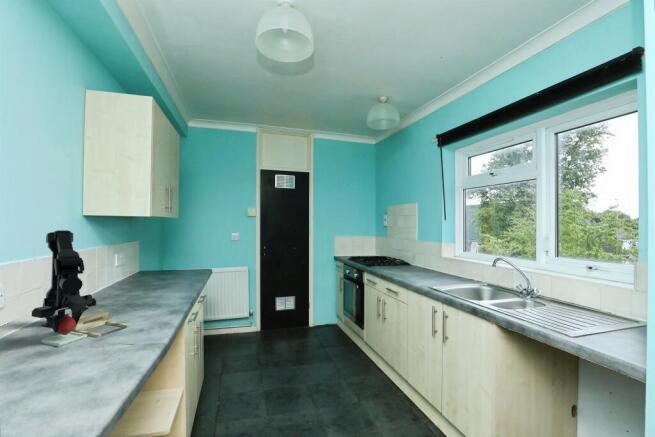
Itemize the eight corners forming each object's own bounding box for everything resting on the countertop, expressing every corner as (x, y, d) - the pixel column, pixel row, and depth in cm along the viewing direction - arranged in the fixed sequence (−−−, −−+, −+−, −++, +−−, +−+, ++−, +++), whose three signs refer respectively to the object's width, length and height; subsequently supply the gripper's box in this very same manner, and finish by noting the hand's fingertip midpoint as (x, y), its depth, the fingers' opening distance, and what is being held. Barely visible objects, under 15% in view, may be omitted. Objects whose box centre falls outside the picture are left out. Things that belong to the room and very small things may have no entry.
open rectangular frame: (70, 332, 124) (71, 319, 124) (103, 322, 136) (103, 311, 136) (97, 337, 119) (98, 324, 119) (129, 326, 132) (129, 315, 132)
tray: (41, 342, 112) (41, 339, 112) (70, 334, 121) (70, 331, 121) (59, 346, 109) (59, 343, 109) (87, 337, 118) (87, 334, 118)
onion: (63, 338, 112) (64, 317, 112) (50, 337, 113) (51, 315, 113) (79, 333, 118) (80, 312, 118) (67, 331, 119) (68, 311, 119)
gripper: (53, 296, 104) (50, 341, 104) (107, 285, 122) (105, 325, 122) (31, 292, 108) (29, 337, 107) (87, 283, 125) (85, 321, 125)
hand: (65, 329), depth 115 cm, fingers closed on onion, 6 cm apart
